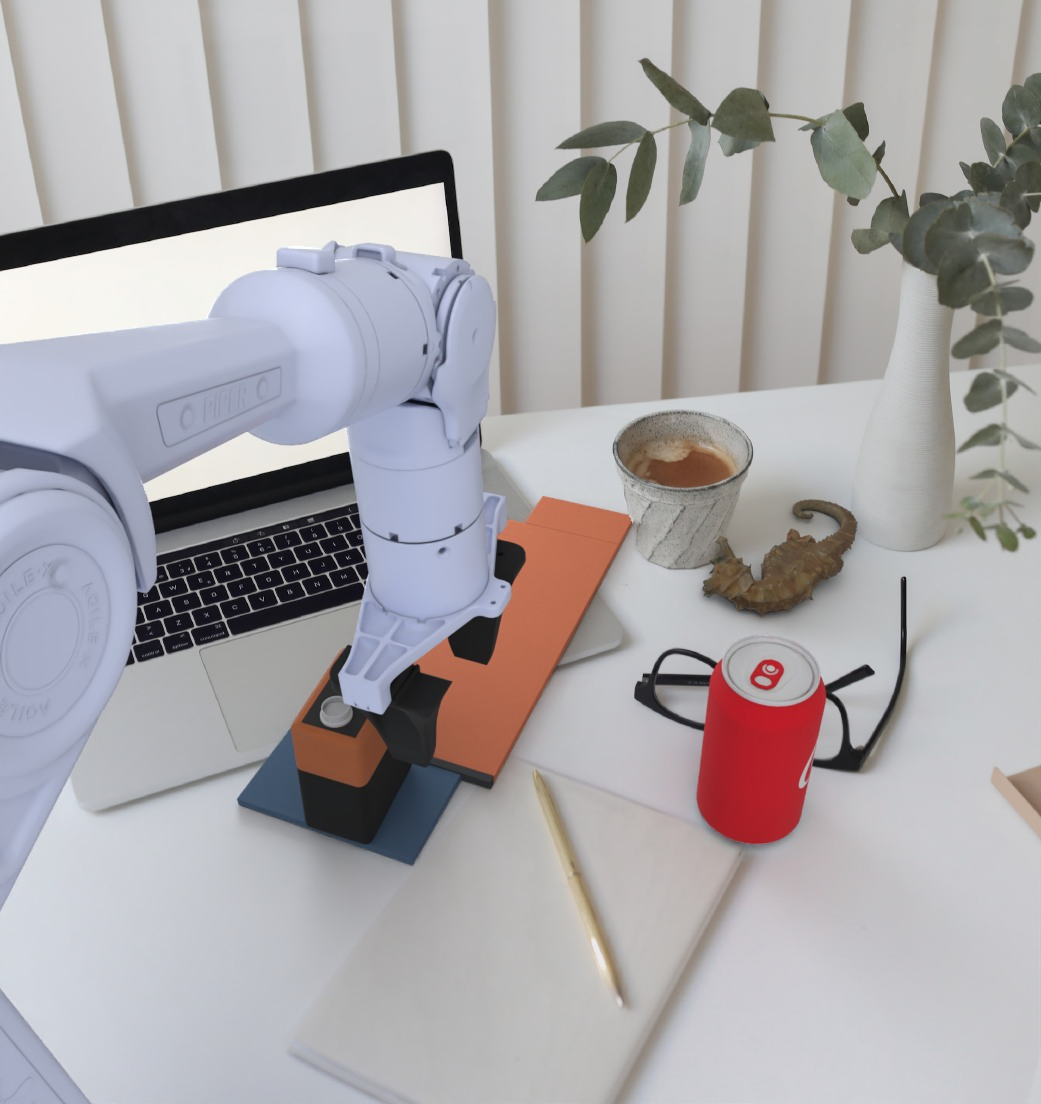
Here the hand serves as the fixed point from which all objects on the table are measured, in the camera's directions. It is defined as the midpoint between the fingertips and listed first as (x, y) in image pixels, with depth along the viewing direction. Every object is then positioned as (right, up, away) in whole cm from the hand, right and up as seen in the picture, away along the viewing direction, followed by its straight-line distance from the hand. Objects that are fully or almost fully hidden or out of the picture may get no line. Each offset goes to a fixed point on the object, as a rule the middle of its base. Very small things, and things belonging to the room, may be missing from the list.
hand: (444, 705), depth 58 cm
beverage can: (+18, -7, +7) cm, 21 cm away
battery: (-6, -7, +8) cm, 12 cm away
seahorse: (+24, +7, +25) cm, 36 cm away
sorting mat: (0, +2, +19) cm, 19 cm away
